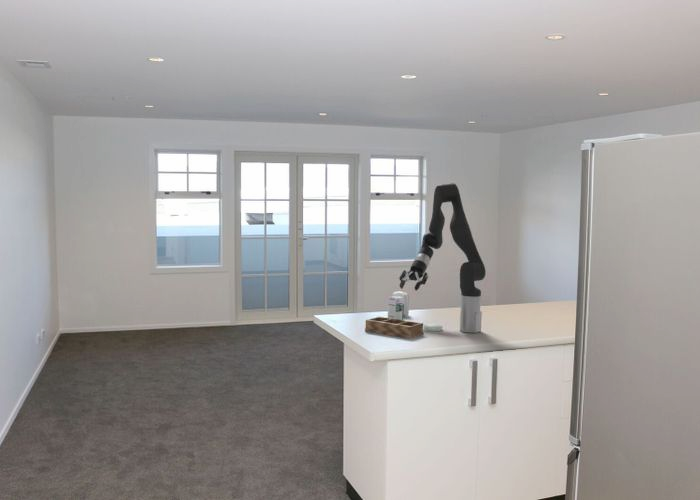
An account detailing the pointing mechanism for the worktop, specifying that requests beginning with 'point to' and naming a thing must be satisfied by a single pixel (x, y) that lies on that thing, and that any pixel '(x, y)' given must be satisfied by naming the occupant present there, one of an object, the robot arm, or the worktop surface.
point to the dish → (433, 327)
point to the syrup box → (396, 307)
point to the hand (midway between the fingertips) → (408, 288)
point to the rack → (394, 327)
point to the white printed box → (406, 301)
